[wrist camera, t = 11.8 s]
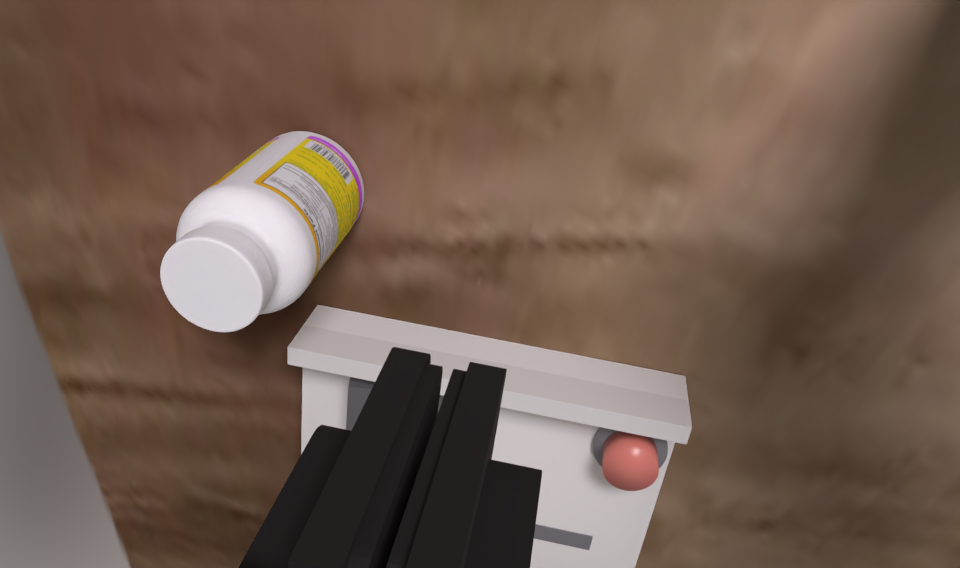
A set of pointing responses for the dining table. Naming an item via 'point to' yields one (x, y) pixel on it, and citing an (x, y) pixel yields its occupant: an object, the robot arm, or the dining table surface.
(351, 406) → the dark grey flat panel
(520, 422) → the console
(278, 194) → the supplement bottle
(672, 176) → the dining table surface
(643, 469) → the red button
